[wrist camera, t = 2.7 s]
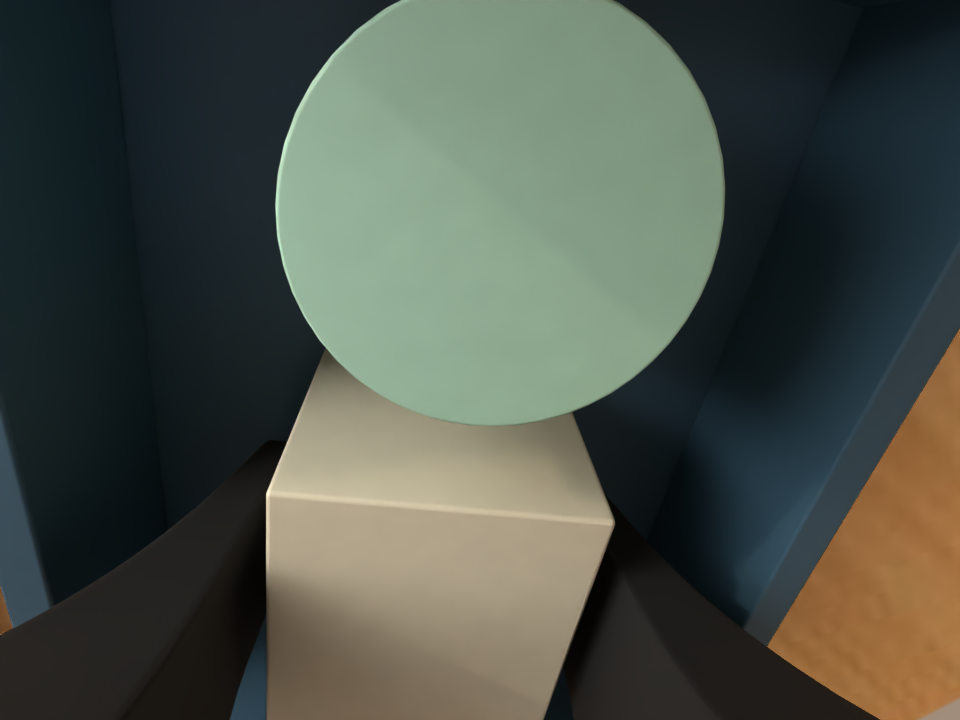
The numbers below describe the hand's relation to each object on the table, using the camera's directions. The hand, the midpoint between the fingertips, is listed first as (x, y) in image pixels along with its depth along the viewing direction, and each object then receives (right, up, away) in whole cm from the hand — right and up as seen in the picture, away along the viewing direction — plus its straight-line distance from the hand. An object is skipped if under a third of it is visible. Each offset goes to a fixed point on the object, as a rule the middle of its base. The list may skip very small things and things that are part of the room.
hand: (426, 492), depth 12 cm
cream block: (0, 0, +1) cm, 1 cm away
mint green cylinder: (+1, +6, -2) cm, 7 cm away
